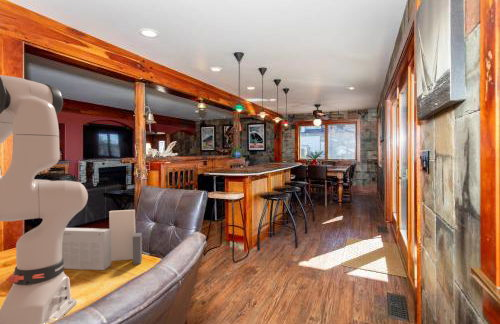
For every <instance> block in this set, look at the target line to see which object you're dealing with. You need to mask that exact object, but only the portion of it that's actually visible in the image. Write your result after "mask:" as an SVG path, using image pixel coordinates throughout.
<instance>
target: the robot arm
mask: <svg viewBox="0 0 500 324" xmlns="http://www.w3.org/2000/svg"><path fill="white" fill-rule="evenodd" d="M63 106H64V98H63V95H62V93H61V91H60V90H59V89H58V88H57V87H55V86H52V85H50V84H47V83H40V82H37V81H33V80H29V79H25V78H23V77H18V76H11V75H2V74H0V145H1V144H3V143H4V142H5V141H6V140H7V139H8V138H9V137H10V136H12V155H11V161H10V165H9V167H8V168H7V170H6V172H5V174H4V175H3V176H2V174H3V173H2V167H1V166H0V222H16V221H23V220H33V219H34V220H35V219H42V221H41V223H40V224H39V225H37V226H35V227H34V228H31V229H30V230H29V231H27V232H25V233H23V234H22V235H20V237H19V238H18V239H17V241H16V244H15V249H16V250H15V254H16V255H15V256H16V260H15V261H16V266H15V267H14V271H13V275H12V274H11V275H10V276H9V277H8V281H7V282H8V283H9V284H12V285H11V287H10V290H9V291H8V293H7V295H6V297H5V299H4V301H3V303H2V304H1V307H0V324H46V323H50V321H51V322H53V321H54V320H57V319H59V318H61V319H63V317H64V316H65V315H66V314H67V313H68V312H69V311H70V310H71V309H73V307H75V305H76V304H77V299H76V298H74V297H72V292H71V282H70V277H69V276H68V275H67V274H65V272H64V271H65V269H64V259H63V258H62V240H63V234H64V230H65V228H67V226H68V224H69V222H71V220H72V219H73V218H74V217H75V216H76V215H77V214H78V213H79V212H81V211H83V209H84V208H85V207H86V205H87V203H88V200H89V199H88V198H89V194H88V190H87V188H86V187H85V185H84V184H82V183H81V182H80V181H73V180H64V179H63V180H51V179H50V180H49V179H35V177H36V176H37V175H38V174H39V173H41V172H45V171H46V170H48V169H50V168H52V167H53V166H56V165H57V164H58V162H59V161H60V155H61V151H60V129H59V127H60V126H59V121H58V116H57V115H58V114H59V113H60V112H61V111H62V109H63ZM64 314H65V315H64ZM53 318H55V319H54V320H51V319H53ZM49 320H50V321H49Z"/></svg>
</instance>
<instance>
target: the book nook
mask: <svg viewBox="0 0 500 324" xmlns="http://www.w3.org/2000/svg"><path fill="white" fill-rule="evenodd" d="M108 213H109V214H108V215H109V216H108V217H109V219H108V220H109V221H108V222H109V223H108V224H109V225H108V227H109V228H108V229H111V262H119V261H128V260H132V264H133V265H141V264H142V261H143V237H142V236H143V232H136V209H124V210H123V209H122V210H110V211H108Z"/></svg>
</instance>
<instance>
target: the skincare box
mask: <svg viewBox="0 0 500 324" xmlns="http://www.w3.org/2000/svg"><path fill="white" fill-rule="evenodd" d="M62 258H63V259H64V270H67V269H68V270H90V271H93V270H94V271H105V270H107V269H108V268H109V267H111V266H112V261H111V229H109V228H98V227H97V228H95V227H94V228H93V227H91V228H90V227H66V228H65V230H64V234H63V240H62Z"/></svg>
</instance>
